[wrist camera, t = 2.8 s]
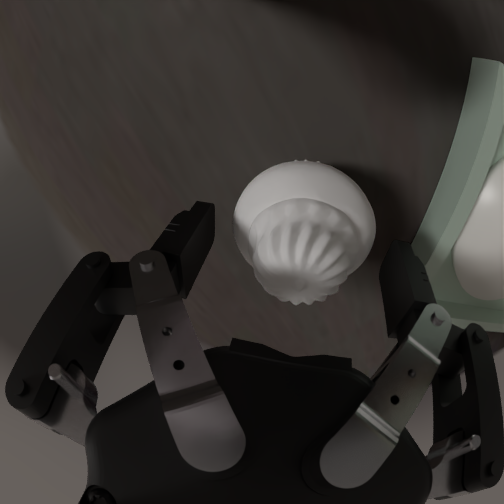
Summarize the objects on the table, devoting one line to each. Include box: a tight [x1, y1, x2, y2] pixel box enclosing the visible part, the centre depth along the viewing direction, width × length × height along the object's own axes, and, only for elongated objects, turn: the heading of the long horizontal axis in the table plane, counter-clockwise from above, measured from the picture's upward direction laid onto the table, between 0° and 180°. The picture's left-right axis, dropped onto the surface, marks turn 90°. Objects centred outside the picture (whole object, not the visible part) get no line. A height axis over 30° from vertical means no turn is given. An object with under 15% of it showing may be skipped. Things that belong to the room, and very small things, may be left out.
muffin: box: [233, 160, 376, 305], centre depth 12 cm, size 6×6×7 cm
